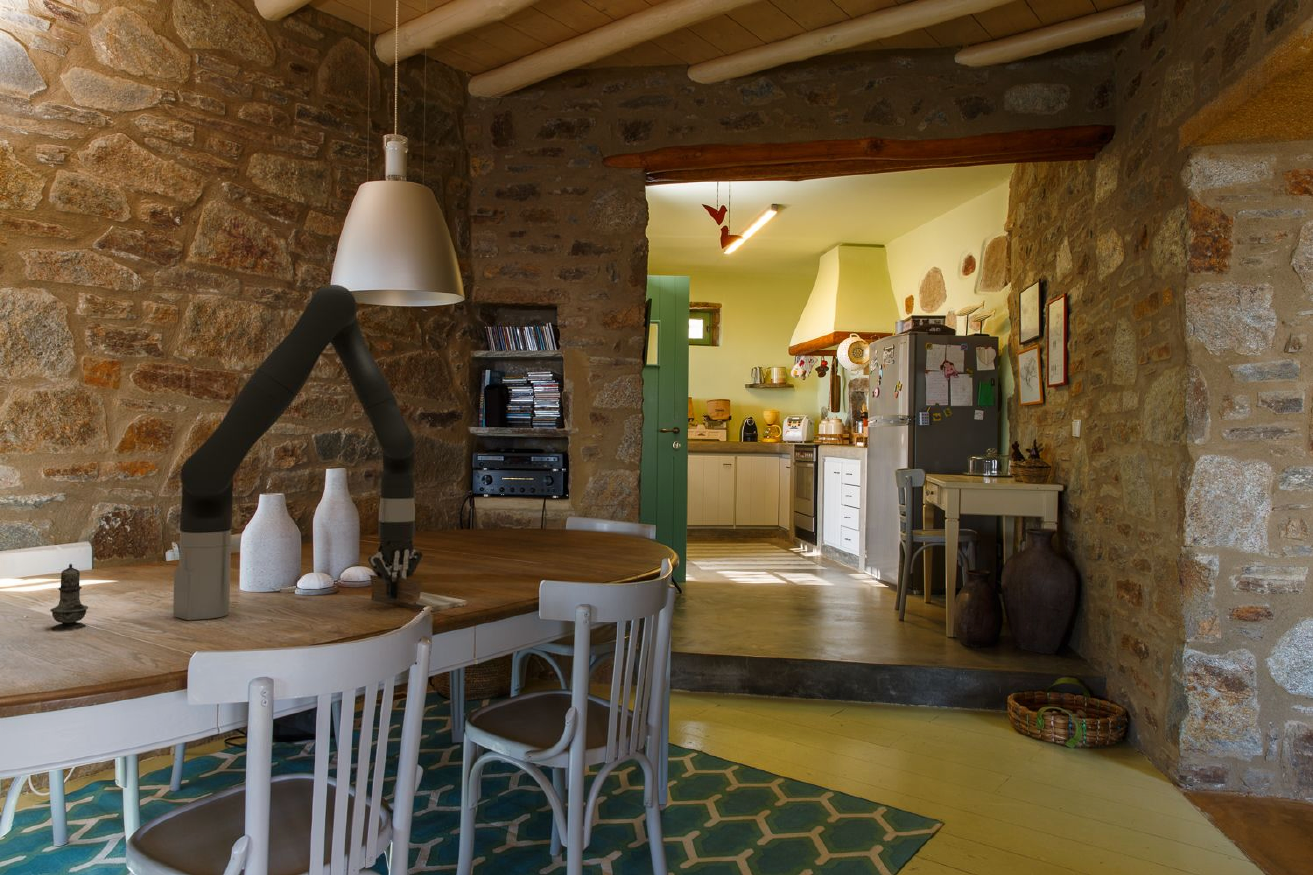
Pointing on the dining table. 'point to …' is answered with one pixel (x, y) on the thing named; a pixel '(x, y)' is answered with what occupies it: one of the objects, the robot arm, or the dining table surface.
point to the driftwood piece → (405, 589)
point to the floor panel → (427, 602)
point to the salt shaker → (69, 602)
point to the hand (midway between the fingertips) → (395, 597)
